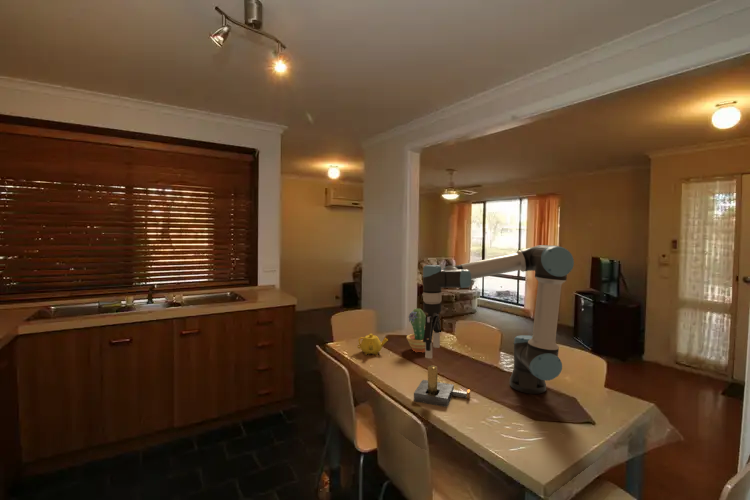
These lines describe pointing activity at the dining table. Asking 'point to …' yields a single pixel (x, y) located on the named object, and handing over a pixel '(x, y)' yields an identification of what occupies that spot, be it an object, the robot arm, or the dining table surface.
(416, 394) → the block
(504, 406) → the dining table surface
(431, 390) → the cylinder
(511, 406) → the dining table surface
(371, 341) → the teapot
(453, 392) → the lock pin
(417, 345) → the potted cactus
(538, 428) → the dining table surface
